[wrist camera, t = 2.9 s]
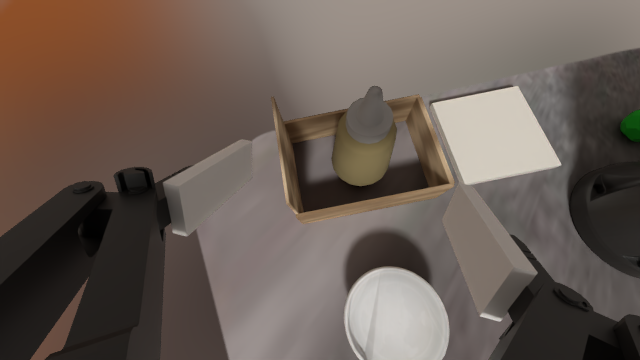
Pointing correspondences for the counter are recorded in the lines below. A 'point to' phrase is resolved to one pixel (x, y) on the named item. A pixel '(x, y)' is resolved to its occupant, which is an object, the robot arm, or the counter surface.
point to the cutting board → (492, 136)
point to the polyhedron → (632, 126)
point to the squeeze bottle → (364, 140)
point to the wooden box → (327, 125)
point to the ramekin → (395, 317)
